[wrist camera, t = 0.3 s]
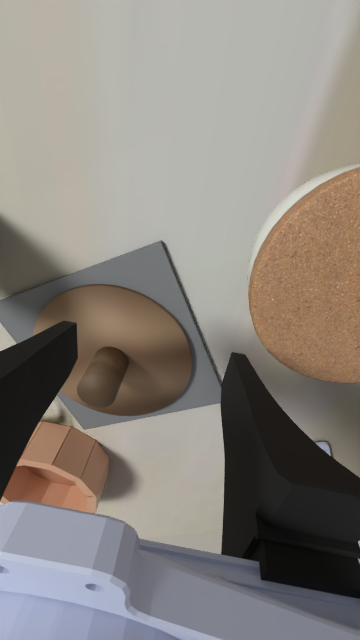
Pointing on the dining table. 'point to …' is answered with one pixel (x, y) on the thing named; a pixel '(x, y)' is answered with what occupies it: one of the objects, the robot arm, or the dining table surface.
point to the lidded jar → (311, 278)
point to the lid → (121, 349)
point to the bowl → (60, 469)
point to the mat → (139, 275)
